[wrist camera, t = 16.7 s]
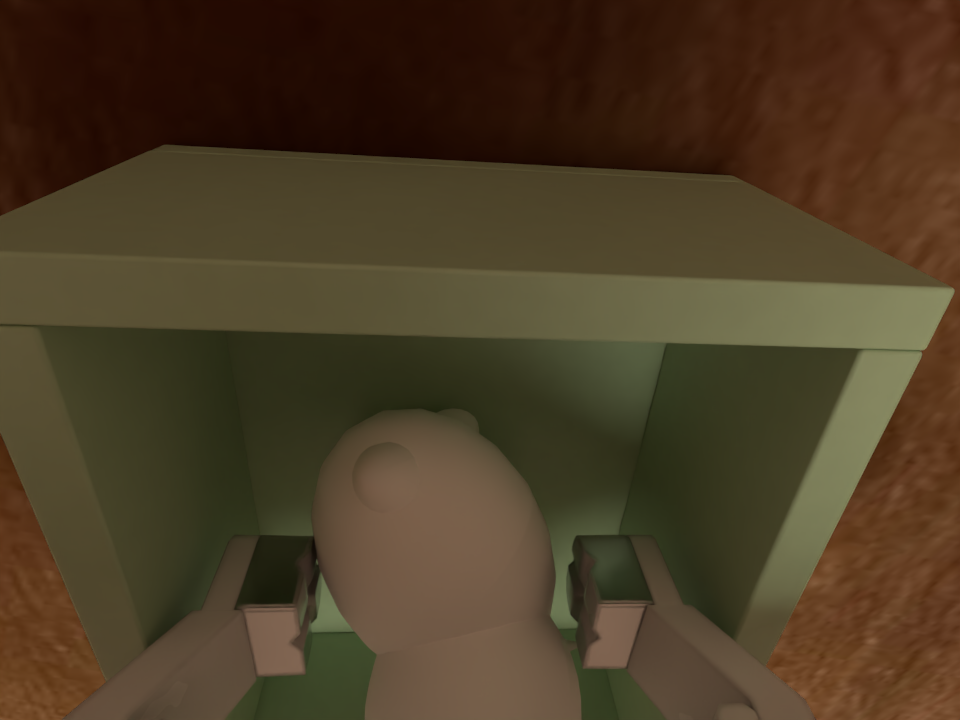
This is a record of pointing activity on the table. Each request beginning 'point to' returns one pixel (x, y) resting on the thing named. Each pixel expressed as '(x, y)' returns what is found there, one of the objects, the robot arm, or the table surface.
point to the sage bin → (440, 375)
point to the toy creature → (442, 572)
